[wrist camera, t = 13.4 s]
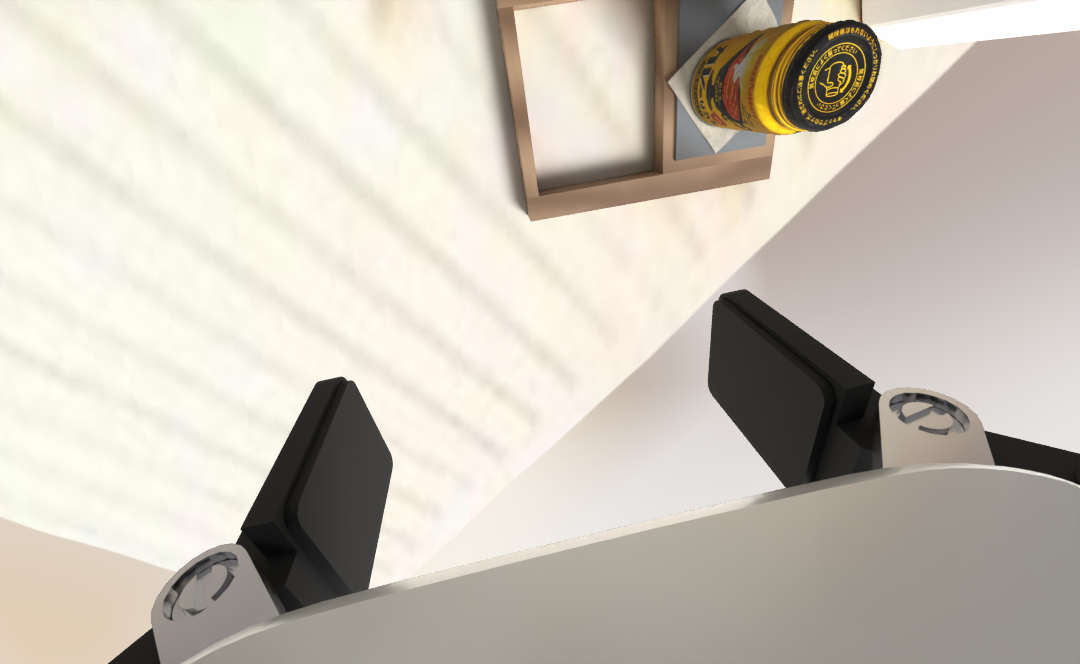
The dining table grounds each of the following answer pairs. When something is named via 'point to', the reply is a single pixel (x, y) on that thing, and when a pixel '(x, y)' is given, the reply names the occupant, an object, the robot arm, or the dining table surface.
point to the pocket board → (679, 146)
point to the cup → (966, 20)
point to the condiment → (777, 75)
